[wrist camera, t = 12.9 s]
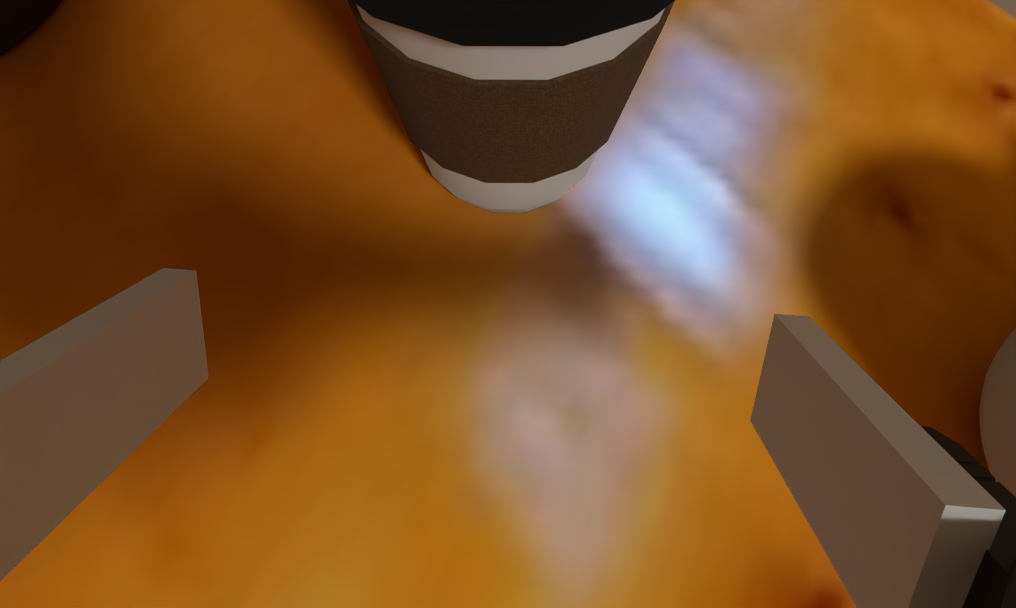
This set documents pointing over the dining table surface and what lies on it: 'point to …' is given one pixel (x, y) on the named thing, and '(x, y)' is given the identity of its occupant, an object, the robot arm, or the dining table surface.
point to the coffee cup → (510, 86)
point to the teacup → (1000, 415)
